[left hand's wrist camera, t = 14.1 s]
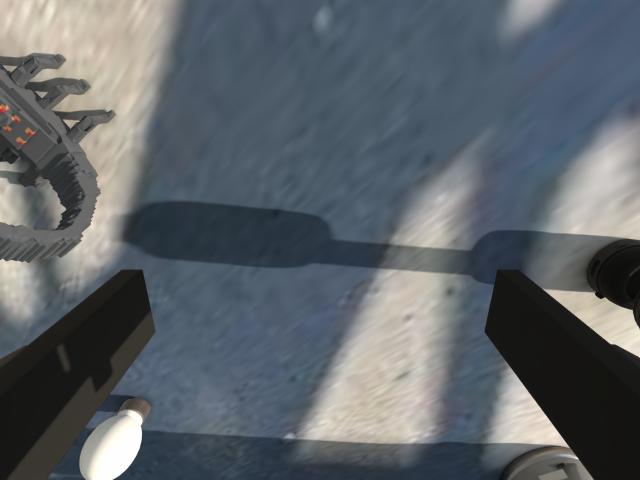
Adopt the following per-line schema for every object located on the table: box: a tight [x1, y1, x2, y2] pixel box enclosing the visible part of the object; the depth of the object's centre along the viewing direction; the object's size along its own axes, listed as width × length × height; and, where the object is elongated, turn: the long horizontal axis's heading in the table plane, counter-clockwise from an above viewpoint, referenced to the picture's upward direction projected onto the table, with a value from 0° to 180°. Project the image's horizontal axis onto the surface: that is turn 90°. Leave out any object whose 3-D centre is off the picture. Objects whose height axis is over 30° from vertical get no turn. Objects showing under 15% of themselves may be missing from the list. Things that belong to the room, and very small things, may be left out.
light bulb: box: [80, 398, 150, 480], centre depth 47 cm, size 7×7×11 cm
